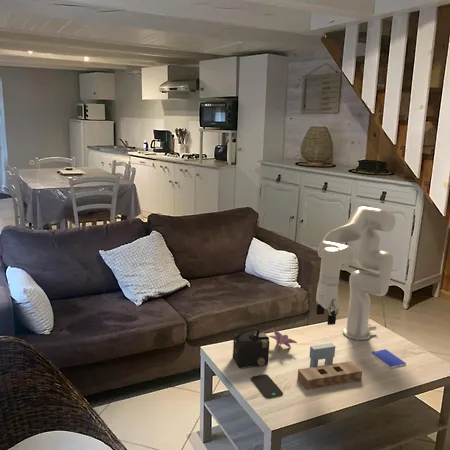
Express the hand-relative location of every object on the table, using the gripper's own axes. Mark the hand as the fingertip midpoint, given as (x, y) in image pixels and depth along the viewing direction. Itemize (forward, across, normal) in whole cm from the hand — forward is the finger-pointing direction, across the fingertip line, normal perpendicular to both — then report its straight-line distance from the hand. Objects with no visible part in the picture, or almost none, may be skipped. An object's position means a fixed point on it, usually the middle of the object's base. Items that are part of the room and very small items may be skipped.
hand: (325, 319), depth 190 cm
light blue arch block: (+22, -2, +1) cm, 22 cm away
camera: (+22, -11, -27) cm, 37 cm away
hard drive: (+22, -1, +32) cm, 39 cm away
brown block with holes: (+22, +8, 0) cm, 23 cm away
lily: (+22, -18, -10) cm, 30 cm away
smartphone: (+23, +8, -26) cm, 36 cm away
